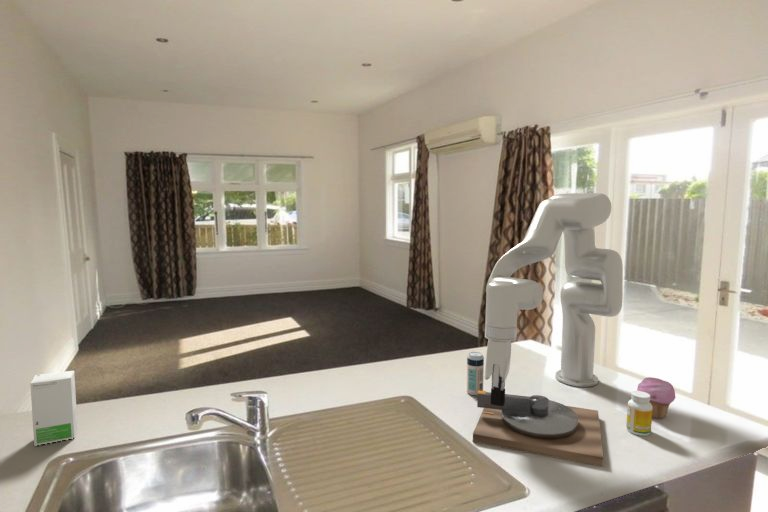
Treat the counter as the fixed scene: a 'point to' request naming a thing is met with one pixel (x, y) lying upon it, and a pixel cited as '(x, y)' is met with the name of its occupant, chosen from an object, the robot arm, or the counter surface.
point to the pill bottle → (475, 373)
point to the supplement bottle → (639, 414)
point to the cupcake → (658, 395)
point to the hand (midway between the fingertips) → (497, 404)
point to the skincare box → (53, 407)
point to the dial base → (574, 447)
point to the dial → (533, 415)
